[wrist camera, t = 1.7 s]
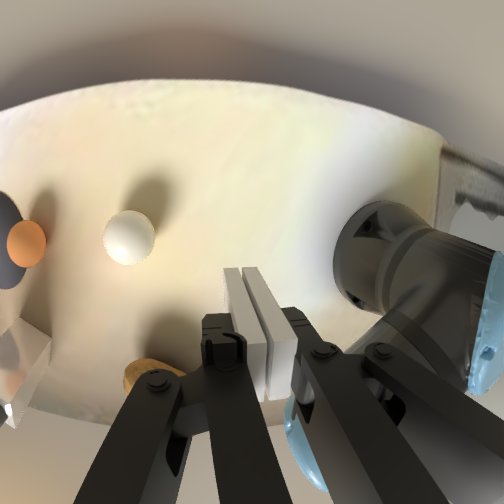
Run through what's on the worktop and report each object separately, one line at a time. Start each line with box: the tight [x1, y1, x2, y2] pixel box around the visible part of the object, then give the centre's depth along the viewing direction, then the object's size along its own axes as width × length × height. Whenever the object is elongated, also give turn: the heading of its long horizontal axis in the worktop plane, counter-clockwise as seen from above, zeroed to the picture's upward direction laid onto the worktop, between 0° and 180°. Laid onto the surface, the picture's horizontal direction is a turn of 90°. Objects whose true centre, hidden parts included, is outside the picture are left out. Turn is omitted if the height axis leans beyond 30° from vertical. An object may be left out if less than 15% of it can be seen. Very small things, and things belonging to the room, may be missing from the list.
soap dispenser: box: [0, 317, 52, 429], centre depth 19 cm, size 6×9×22 cm
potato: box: [123, 359, 194, 436], centre depth 30 cm, size 10×14×8 cm
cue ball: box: [103, 210, 155, 265], centre depth 25 cm, size 6×6×6 cm
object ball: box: [7, 220, 46, 268], centre depth 23 cm, size 6×6×6 cm
